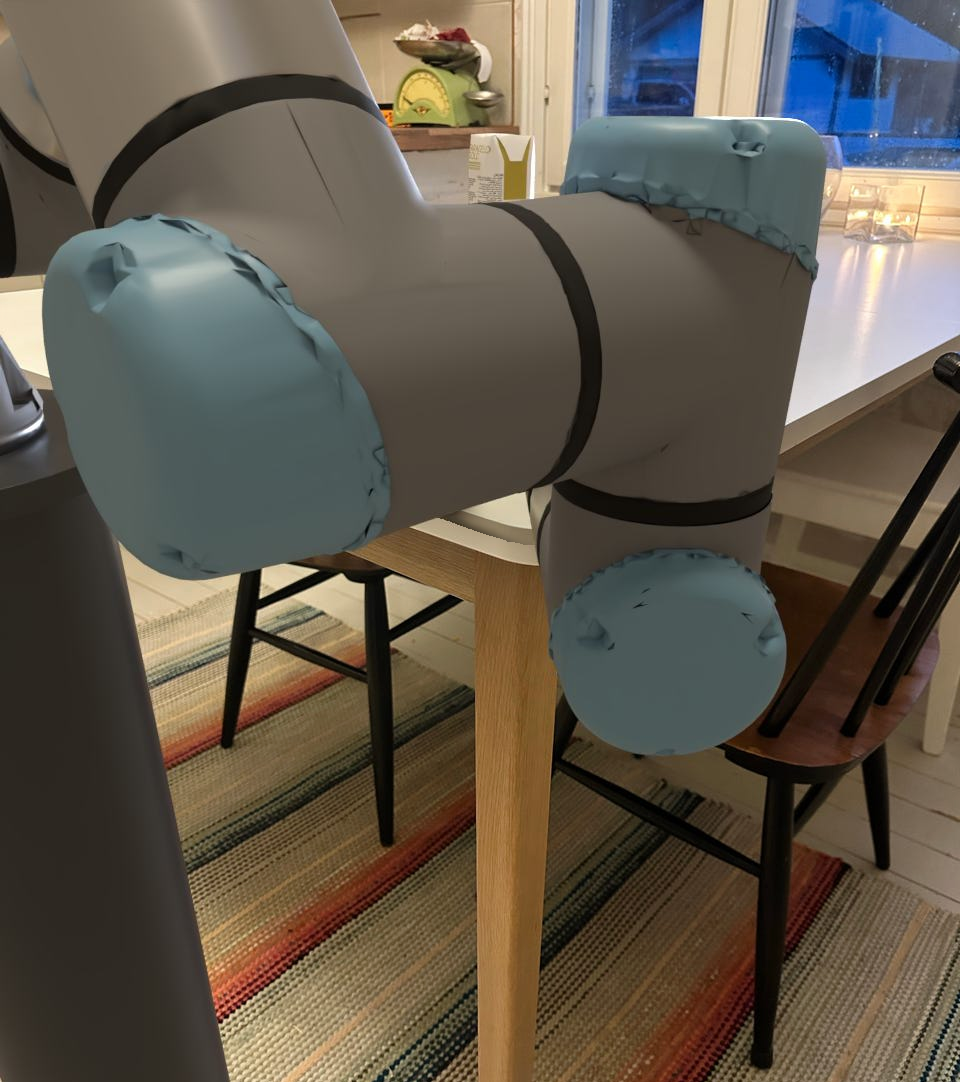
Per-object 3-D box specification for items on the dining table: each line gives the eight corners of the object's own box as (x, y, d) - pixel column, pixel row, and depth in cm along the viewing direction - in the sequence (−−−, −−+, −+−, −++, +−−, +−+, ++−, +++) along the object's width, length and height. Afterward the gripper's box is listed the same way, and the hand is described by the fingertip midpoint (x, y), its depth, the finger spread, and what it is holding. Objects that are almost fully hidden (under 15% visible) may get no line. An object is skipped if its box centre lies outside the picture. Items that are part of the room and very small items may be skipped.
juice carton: (488, 292, 126) (490, 135, 117) (463, 282, 133) (463, 133, 124) (536, 288, 129) (542, 134, 120) (509, 279, 136) (513, 133, 126)
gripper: (344, 576, 44) (377, 437, 62) (859, 575, 45) (742, 438, 63) (333, 422, 40) (372, 323, 59) (895, 424, 41) (759, 325, 59)
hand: (563, 382), depth 61 cm, fingers open, 13 cm apart
